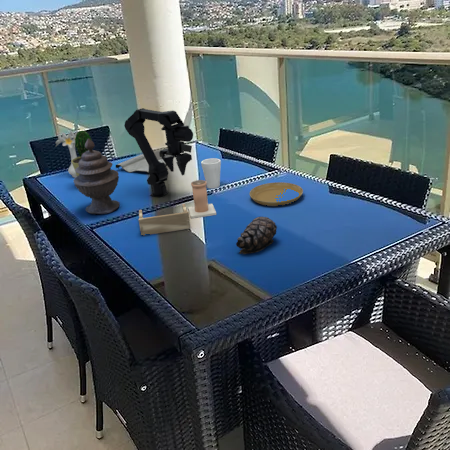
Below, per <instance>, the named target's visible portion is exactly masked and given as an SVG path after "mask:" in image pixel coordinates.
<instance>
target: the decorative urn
mask: <svg viewBox="0 0 450 450" xmlns="http://www.w3.org/2000/svg"><path fill="white" fill-rule="evenodd" d="M85 148H86V149H88V151H86V152H85V153H83V154H82V156H81V158H82V159H81V160H80V161H79V163H78V164H79V167H77V168H76V169H75V172H76V173H79V175H78V176H77V177H74V179H73V183H74V187H76V189H77V190H78V192H79V193H81V194H82V195H83V196H85V197H87V198H90V199H91V203H90V204H89V205H87V206H86V208H85V211H86V213H89V214H91V215H96V214H97V215H106V214H110V213H113V212H115V211H116V210H117V209H118V208H119V207H120V203H121V202H120V201H119V200H116V199H115V200H114V199H112V198H111V195H112V194H113V193H114V192H115V190H116V188H117V187H118V182H119V178H120V176H119V171H118V170H115V169H112V168H113V165H114V163H113V162H111V161H108V158H107V156H105V155H103V154H102V153H101V152H100V151H99V150H94V148H95V142H94V141H93V140H92V139H91V140H90V139H89V138H88V140H87V141H86V143H85Z"/></svg>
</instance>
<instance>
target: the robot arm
mask: <svg viewBox="0 0 450 450" xmlns="http://www.w3.org/2000/svg"><path fill="white" fill-rule="evenodd" d="M146 120H147V121H154V122H158V123H159V124H160V125H162V127H161V131H164V132H165V139H166V142H164V145H165V146H167V148H164V149H160V151H159V152H158V153H159V154H158V155H159V157H160V158H161V159H163V160H164V162H165V163H166V165H165V163H164V162H162V163H161V162H159V161H158V160H159V159H158V157H157V156H156V154H155V152H154V149H153V148H152V146H151V144H150V142H149V140H148V138H147V136H146V134H145V124H144V123H145V122H146ZM124 128H125V130H126V132H127V134H129V136H131V137H132V138H134V140H135V142H136V144H137V145H138V148H139V150H140V151H141V153H142V154H143V155H144V157H145V159H146V161H147V163H148V165H149V173H148V175H149V176H148V178H147V179H146V183H147V185H150V188H151V194H150V196H152V197H158V198H162V197H163V196H166V195H167V194H169V191H168V190H167V185H166V181H168V176H169V171H170V172H171V173H172V172H173V173H174V169H175V168H174V158H175V160H176V166H177V167H178V170H179V172H180V175H181V176H185V174H186V169H187V168H186V167H187V164H188V163H189V162H191V161H192V160H193V157H192V154H190V153H192V146H193V145H190V144H186V143H185V142H187V143H188V142H189V143H190V142H192V140H193V138H194V132H193V130H192V129H191V128H190V126H189V125H185V123H184V122H183V120H182V119H181V118H180V115H179V114H178V113H177V111H176V110H166V111H159V110H153V109H146V108H142V107H141V108H139V109H136V110H135V111H133V113H132V114H131V115H129V117H128V118H127V119H126V120H124ZM168 169H169V171H168Z"/></svg>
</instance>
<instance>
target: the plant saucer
mask: <svg viewBox="0 0 450 450" xmlns="http://www.w3.org/2000/svg"><path fill="white" fill-rule="evenodd" d="M284 189H285V192H286V190H287V189H291V190H294V191H296V192H298V193H299V196H298V197H296V198H294V199H291V200H287V201H281V202H279V201H278V202H277V201H276V200H277V199H275V198H279V197H280V196H281V195H282V194H283V192H284ZM285 192H284V193H285ZM280 193H281V195H280ZM303 193H304V189H303V188H302V187H301V186H300V185H297V184H294V183H290V182H282V181H281V182H280V181H278V182H267V183H264V184H260V185H256V186H254V187H253V188H252V189H251V190H250V191H249V196H250V198H251V199H252V201H254V202H255V203H257V204H260V205H262V206H266V205H267V206H268V207H279V206H278V205H282V206H286V205H285V204H287V205H290V204H292V203H291V202H293V203H295V202H296V201H297V200H298V199H300V198H301V196H302V195H303ZM276 195H277V196H276ZM278 195H280V196H279V197H278ZM283 196H284V195H283ZM281 198H282V196H281ZM278 200H279V199H278ZM294 201H295V202H294ZM289 203H290V204H289Z"/></svg>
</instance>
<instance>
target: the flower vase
mask: <svg viewBox="0 0 450 450" xmlns="http://www.w3.org/2000/svg"><path fill="white" fill-rule="evenodd" d="M78 131H79V130H78ZM78 131H75V133H74V132H73V131H71V130H70V131H69V134H67V135H66V133H65V132H61V134H58V136H57V140H56V141H55V144H56V145H55V147H57V146H58V145H60V144H61V143H62V146H63V147H66V146H67V148H68V150H69V154H70V160H71V161H72V160H73V159H74V158H77V157H78V155H77V150H76V147H75V138H76V136H75V135H76V134H77V132H78ZM85 132H86V133H87V134H88V131H85ZM67 171H68V173H69V174H70V175H71V176H72V178H76V177H77V175H76V172H75V169H74V167H73V164H72V162H71V163H70V165H69V167H68V170H67Z"/></svg>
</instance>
